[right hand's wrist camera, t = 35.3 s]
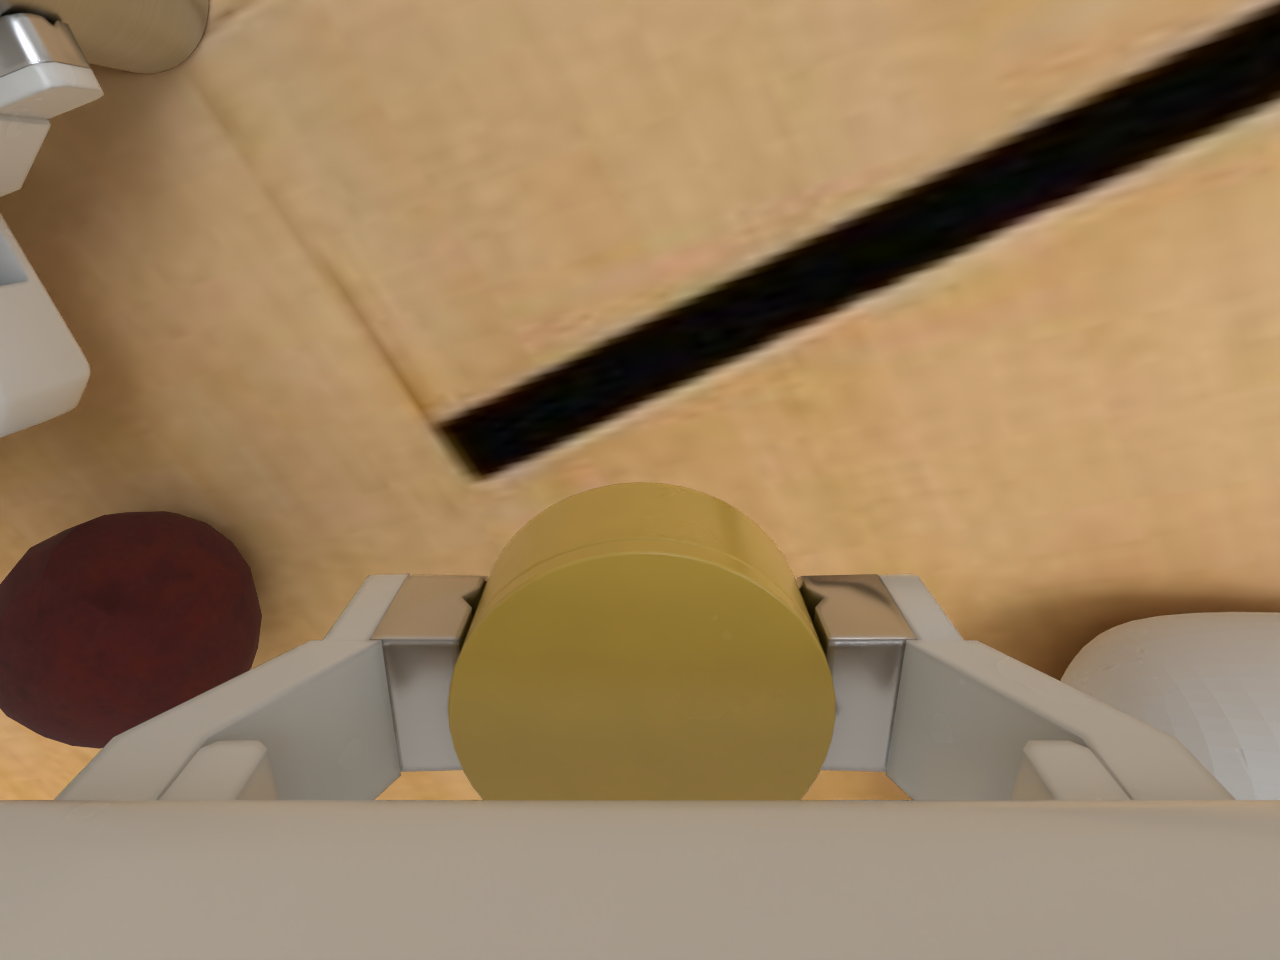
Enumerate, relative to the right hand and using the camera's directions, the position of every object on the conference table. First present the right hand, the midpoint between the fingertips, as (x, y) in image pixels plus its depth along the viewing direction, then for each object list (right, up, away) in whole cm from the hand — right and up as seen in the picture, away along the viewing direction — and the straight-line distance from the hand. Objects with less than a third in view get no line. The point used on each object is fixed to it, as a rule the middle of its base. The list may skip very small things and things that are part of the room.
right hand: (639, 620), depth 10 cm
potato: (-16, -2, +18) cm, 24 cm away
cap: (0, -1, -2) cm, 2 cm away
